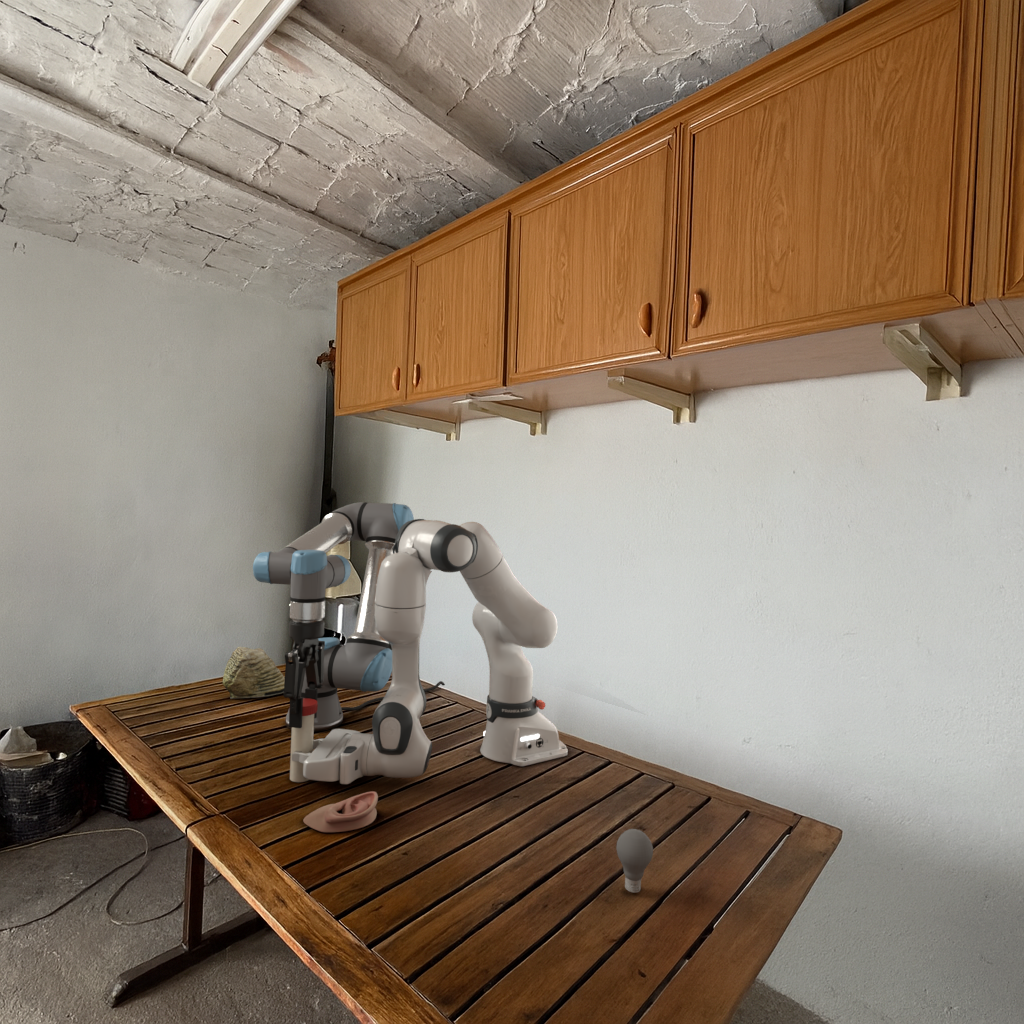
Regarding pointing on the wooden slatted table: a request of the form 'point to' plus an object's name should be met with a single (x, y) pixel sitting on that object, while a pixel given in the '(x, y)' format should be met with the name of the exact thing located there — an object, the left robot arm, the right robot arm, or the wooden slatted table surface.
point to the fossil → (252, 674)
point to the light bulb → (634, 857)
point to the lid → (309, 706)
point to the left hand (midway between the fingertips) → (303, 721)
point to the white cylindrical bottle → (301, 746)
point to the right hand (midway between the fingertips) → (297, 750)
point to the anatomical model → (344, 814)
